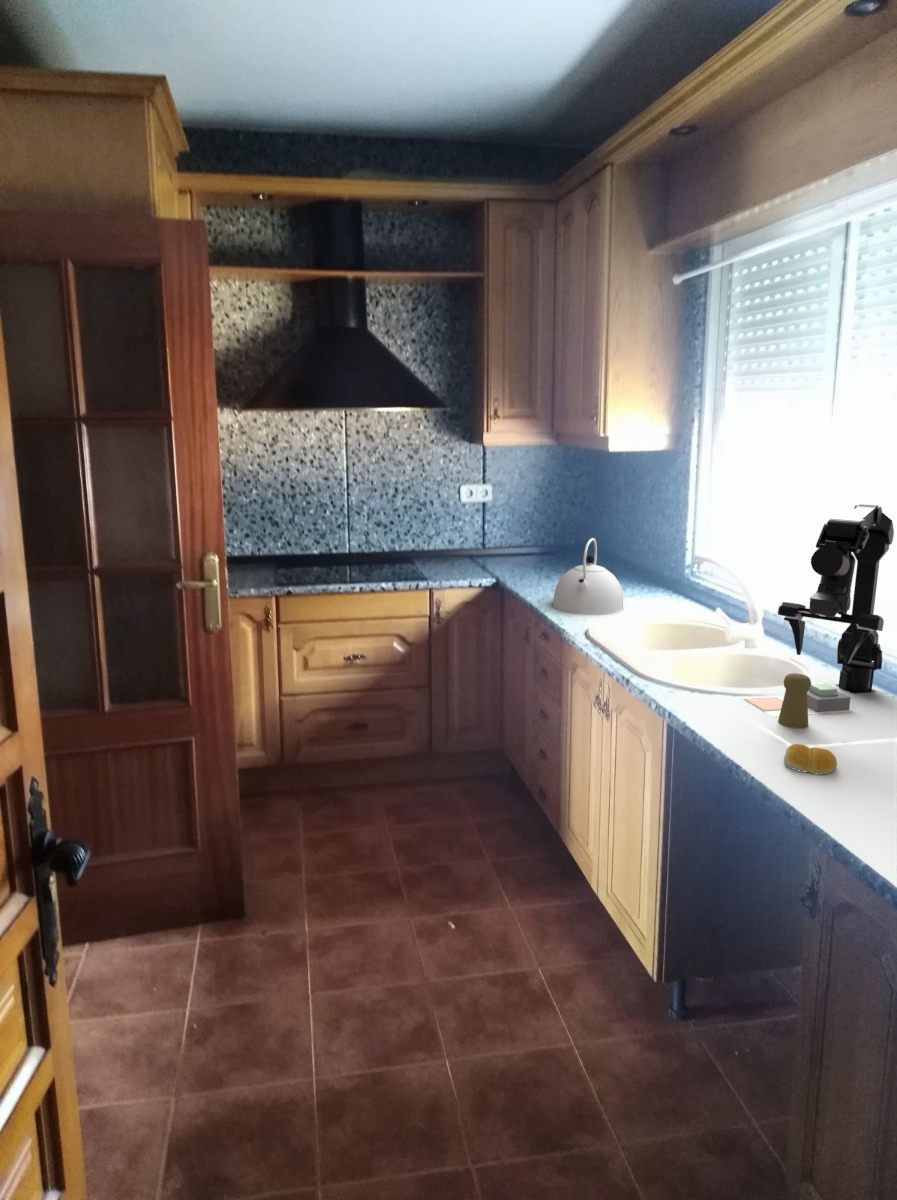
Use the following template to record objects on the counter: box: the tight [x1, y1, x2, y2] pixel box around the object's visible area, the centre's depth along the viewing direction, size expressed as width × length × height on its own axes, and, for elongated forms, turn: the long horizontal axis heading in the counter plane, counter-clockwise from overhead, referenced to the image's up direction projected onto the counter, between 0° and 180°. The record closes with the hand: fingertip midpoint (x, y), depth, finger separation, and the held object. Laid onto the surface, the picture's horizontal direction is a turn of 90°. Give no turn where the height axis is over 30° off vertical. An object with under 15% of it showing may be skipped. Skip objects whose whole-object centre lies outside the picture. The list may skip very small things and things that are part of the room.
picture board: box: [743, 690, 853, 718], centre depth 192 cm, size 19×12×3 cm, turn 103°
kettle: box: [552, 537, 624, 616], centre depth 283 cm, size 25×23×22 cm
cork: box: [777, 672, 812, 729], centre depth 180 cm, size 6×6×11 cm
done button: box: [809, 682, 838, 697], centre depth 191 cm, size 4×4×2 cm
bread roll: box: [783, 743, 838, 775], centre depth 160 cm, size 8×9×4 cm
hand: (822, 659), depth 174 cm, fingers open, 9 cm apart
